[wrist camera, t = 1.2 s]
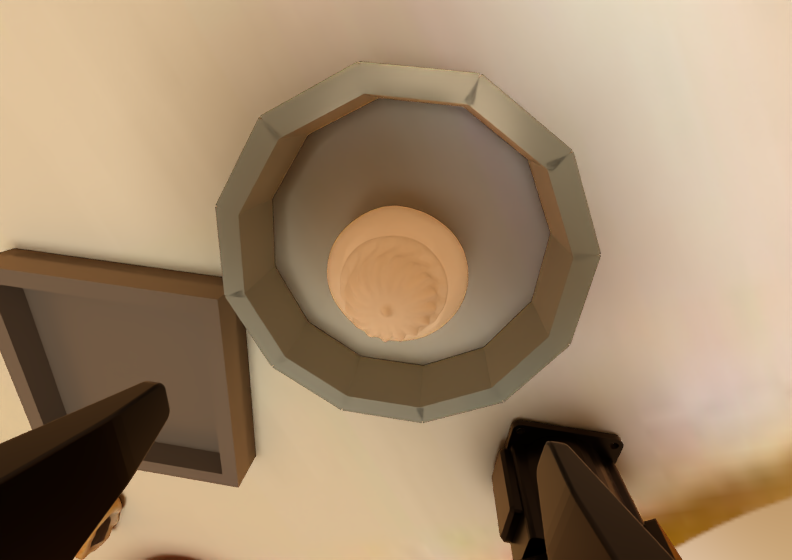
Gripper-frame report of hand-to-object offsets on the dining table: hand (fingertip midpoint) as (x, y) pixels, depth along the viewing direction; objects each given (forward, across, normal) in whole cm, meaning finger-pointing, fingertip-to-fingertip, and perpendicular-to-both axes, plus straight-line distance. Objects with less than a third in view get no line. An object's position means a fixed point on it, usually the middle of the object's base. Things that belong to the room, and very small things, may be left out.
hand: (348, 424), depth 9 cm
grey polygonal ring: (+12, 0, 0) cm, 12 cm away
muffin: (+12, 0, 0) cm, 12 cm away
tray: (+12, +16, +10) cm, 22 cm away
